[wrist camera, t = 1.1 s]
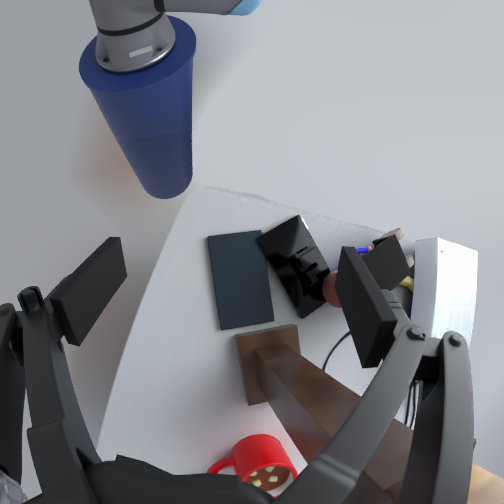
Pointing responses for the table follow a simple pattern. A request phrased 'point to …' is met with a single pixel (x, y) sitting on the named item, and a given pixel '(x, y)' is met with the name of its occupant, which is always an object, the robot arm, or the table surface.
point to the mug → (260, 464)
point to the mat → (240, 279)
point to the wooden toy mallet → (485, 487)
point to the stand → (317, 409)
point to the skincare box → (444, 288)
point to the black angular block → (296, 264)
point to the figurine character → (378, 265)
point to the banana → (408, 283)
